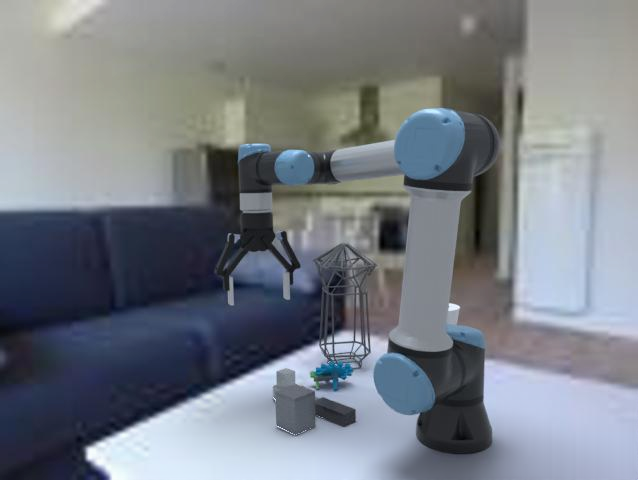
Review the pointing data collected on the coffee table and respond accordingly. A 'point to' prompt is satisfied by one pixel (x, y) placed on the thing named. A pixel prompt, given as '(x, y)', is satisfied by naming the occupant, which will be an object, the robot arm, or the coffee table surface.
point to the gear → (331, 373)
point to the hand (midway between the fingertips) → (259, 301)
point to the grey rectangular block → (295, 408)
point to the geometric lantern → (367, 266)
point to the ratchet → (318, 401)
